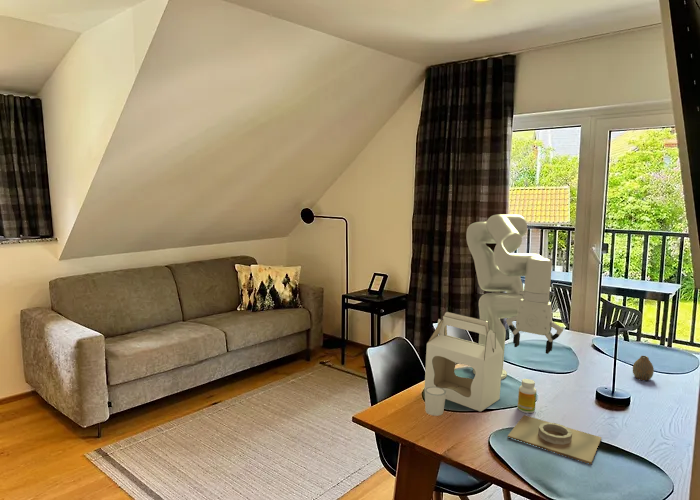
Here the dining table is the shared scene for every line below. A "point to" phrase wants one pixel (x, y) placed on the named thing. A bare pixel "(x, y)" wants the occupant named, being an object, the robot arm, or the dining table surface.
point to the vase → (643, 368)
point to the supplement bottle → (527, 396)
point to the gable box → (464, 362)
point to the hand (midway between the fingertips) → (532, 349)
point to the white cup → (434, 400)
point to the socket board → (569, 450)
